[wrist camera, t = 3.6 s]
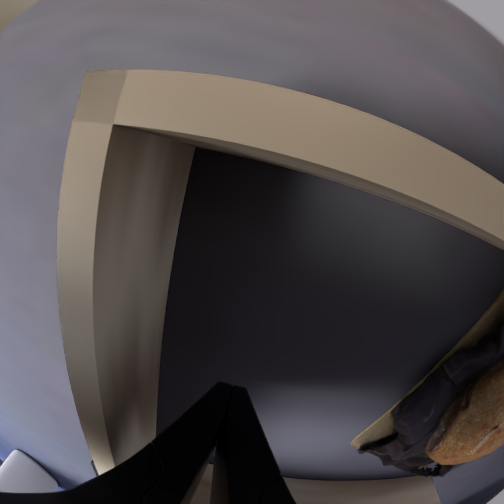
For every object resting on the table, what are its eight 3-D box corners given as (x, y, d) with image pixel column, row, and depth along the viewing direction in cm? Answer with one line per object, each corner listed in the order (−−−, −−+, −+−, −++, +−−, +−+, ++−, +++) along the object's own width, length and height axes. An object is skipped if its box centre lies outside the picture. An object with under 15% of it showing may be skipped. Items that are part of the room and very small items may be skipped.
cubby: (422, 479, 10) (436, 525, 7) (141, 448, 11) (113, 506, 7) (562, 265, 6) (616, 296, 3) (175, 114, 7) (86, 71, 3)
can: (54, 473, 16) (10, 545, 4) (64, 491, 17) (28, 552, 6) (9, 438, 16) (-39, 500, 4) (22, 461, 17) (-16, 516, 6)
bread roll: (511, 246, 7) (575, 275, 4) (546, 341, 8) (581, 372, 5) (330, 432, 10) (340, 501, 6) (418, 468, 11) (432, 512, 7)
